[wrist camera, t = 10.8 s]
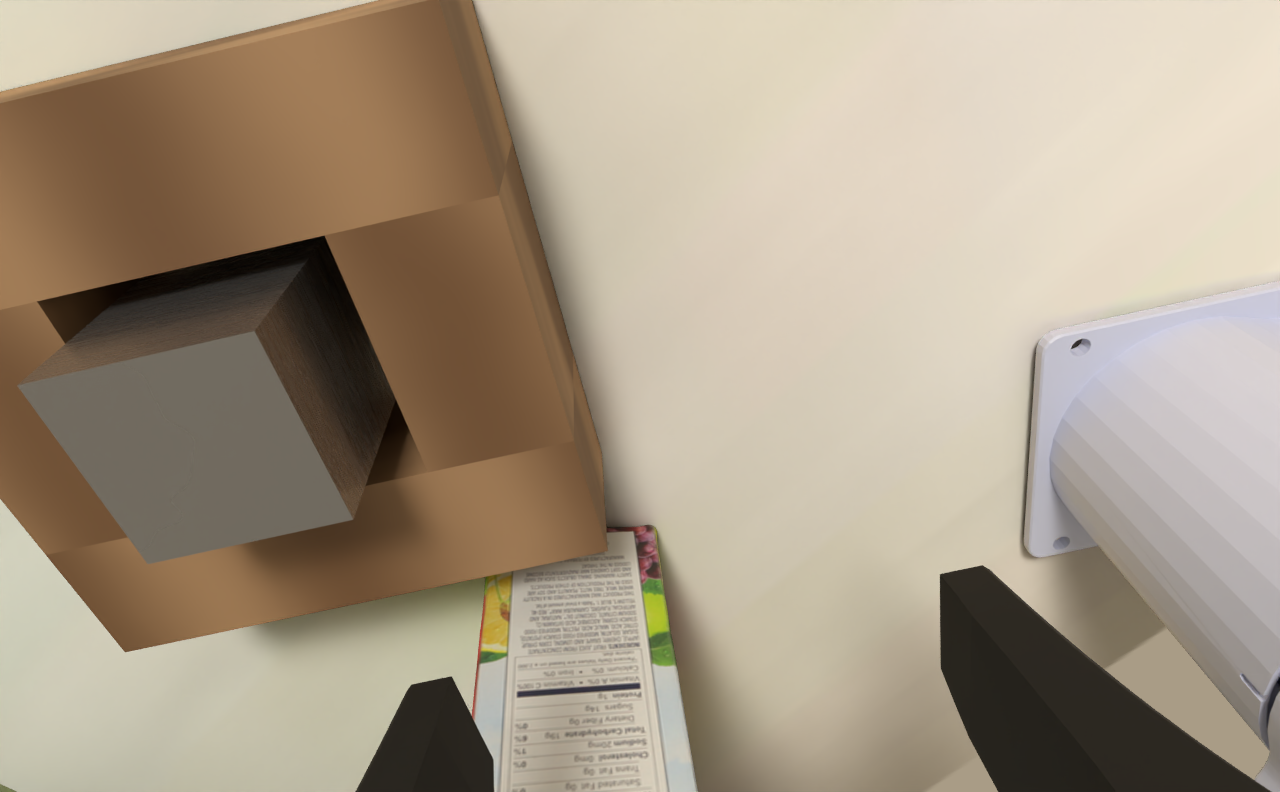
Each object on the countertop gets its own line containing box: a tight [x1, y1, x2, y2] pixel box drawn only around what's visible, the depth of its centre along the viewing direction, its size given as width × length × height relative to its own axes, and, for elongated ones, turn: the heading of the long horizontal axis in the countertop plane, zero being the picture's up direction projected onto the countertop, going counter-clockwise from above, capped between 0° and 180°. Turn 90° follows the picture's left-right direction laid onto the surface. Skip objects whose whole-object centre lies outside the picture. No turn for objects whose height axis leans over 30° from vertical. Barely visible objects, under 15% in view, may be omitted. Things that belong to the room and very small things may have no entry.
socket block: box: [0, 0, 608, 652], centre depth 18 cm, size 12×12×4 cm
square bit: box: [17, 236, 396, 564], centre depth 17 cm, size 4×4×6 cm
